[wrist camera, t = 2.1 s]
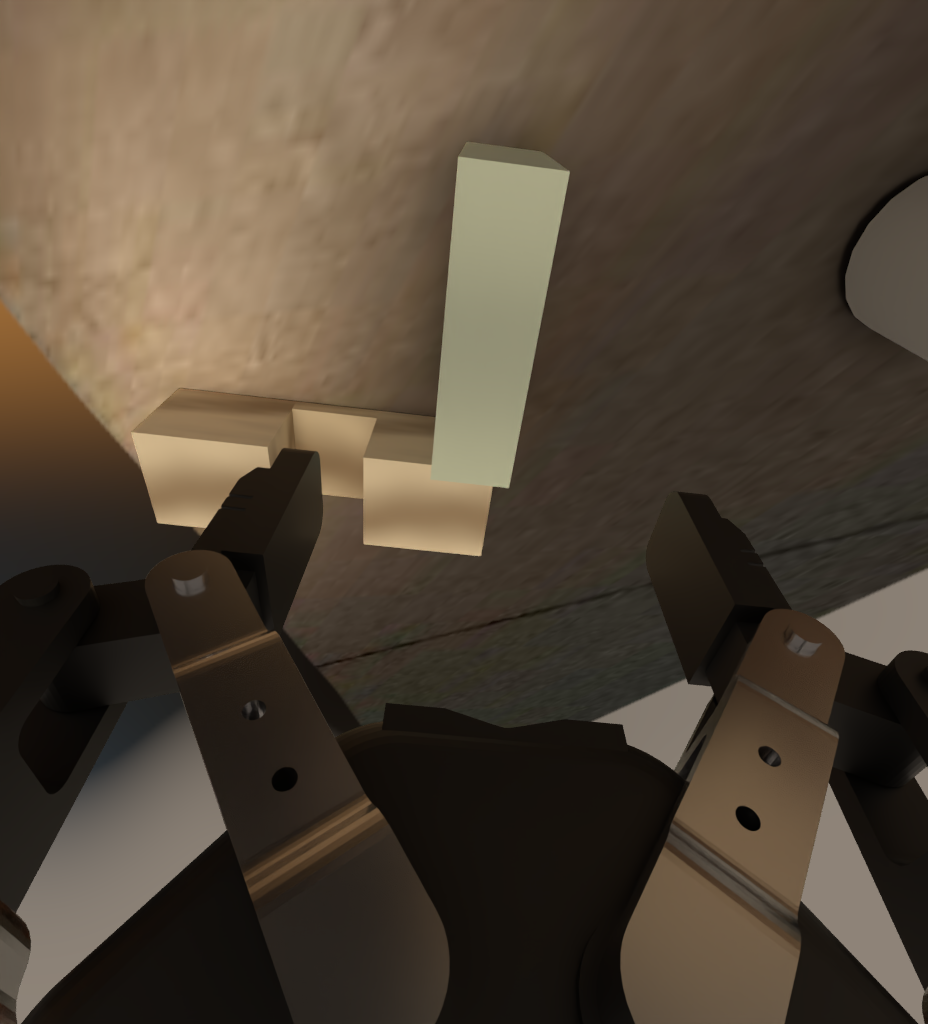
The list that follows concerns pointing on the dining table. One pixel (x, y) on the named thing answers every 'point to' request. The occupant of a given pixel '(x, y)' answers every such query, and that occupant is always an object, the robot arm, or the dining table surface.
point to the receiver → (343, 458)
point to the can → (894, 271)
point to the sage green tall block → (493, 307)
